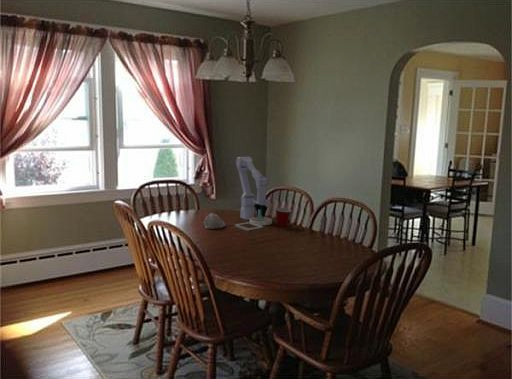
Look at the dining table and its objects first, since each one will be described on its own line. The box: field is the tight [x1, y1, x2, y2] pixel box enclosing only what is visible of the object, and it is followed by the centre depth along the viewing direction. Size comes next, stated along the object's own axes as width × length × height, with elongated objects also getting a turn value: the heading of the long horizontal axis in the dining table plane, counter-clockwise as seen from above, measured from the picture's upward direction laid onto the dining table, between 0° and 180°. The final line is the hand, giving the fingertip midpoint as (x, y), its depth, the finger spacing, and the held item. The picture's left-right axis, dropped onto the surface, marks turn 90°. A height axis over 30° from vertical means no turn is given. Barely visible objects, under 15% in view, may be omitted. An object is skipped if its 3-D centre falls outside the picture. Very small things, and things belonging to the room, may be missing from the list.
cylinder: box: [257, 209, 265, 219], centre depth 314 cm, size 4×4×6 cm
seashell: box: [202, 212, 226, 230], centre depth 303 cm, size 12×14×10 cm
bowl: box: [249, 216, 273, 226], centre depth 314 cm, size 15×15×3 cm
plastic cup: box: [274, 207, 292, 228], centre depth 307 cm, size 11×11×12 cm
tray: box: [234, 221, 264, 232], centre depth 302 cm, size 14×12×2 cm
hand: (260, 215), depth 314 cm, fingers closed on cylinder, 4 cm apart
